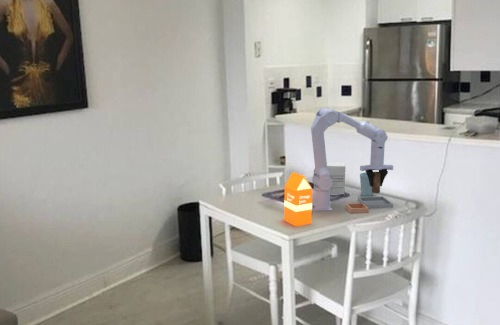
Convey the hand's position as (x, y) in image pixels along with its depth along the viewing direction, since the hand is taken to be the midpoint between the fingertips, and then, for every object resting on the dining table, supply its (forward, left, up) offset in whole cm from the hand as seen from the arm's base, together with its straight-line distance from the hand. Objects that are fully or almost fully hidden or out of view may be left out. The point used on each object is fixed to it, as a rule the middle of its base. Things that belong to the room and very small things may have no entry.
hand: (375, 185), depth 232 cm
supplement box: (-13, +21, -9) cm, 26 cm away
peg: (0, 0, -3) cm, 3 cm away
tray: (0, 0, -9) cm, 9 cm away
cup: (+2, +16, -9) cm, 19 cm away
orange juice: (-39, -18, -9) cm, 44 cm away
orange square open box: (-11, -8, -9) cm, 16 cm away
